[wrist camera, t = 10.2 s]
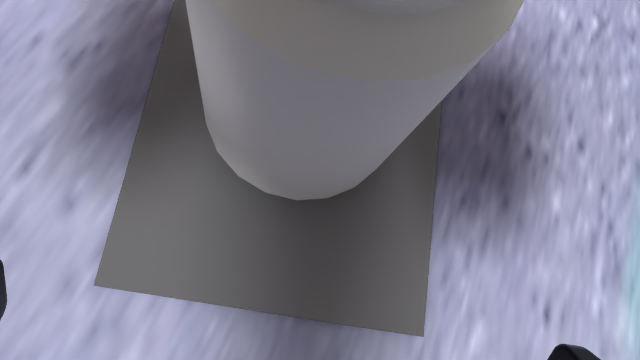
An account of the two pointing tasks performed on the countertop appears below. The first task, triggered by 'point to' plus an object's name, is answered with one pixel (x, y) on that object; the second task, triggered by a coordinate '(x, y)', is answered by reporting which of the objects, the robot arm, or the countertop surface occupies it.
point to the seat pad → (266, 220)
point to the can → (330, 81)
